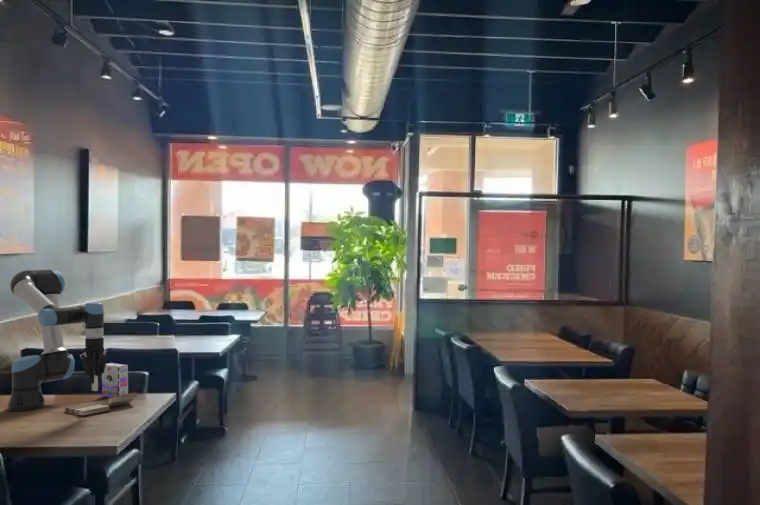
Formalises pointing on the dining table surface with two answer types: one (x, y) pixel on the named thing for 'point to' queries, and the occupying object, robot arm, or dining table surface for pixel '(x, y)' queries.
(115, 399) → the plank
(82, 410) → the plank
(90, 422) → the dining table surface
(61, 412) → the dining table surface
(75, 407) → the floor board
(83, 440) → the dining table surface
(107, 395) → the candy box
